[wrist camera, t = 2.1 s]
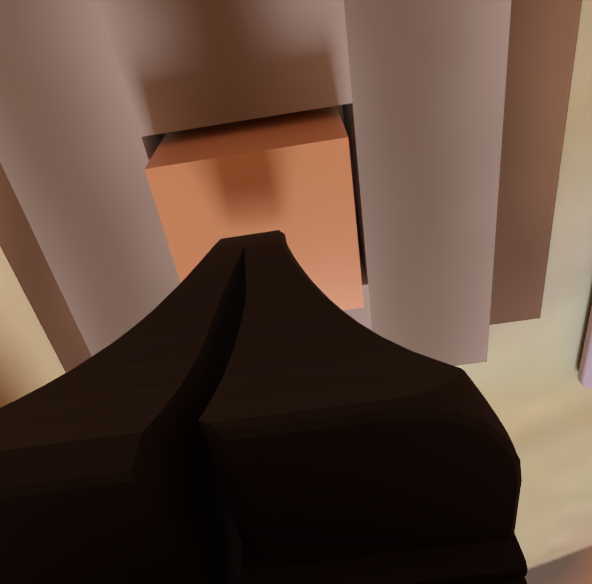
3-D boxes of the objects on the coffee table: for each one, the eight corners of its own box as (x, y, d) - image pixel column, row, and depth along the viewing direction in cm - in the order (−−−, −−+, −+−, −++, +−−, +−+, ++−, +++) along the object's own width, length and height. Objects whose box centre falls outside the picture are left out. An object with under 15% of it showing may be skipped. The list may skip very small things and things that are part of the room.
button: (334, 102, 13) (347, 137, 11) (350, 251, 16) (364, 307, 13) (168, 129, 14) (143, 169, 11) (208, 271, 16) (195, 330, 14)
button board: (595, -176, 12) (695, -216, 9) (534, 310, 20) (579, 372, 17) (-135, -41, 13) (-253, -39, 10) (74, 372, 21) (41, 441, 18)
